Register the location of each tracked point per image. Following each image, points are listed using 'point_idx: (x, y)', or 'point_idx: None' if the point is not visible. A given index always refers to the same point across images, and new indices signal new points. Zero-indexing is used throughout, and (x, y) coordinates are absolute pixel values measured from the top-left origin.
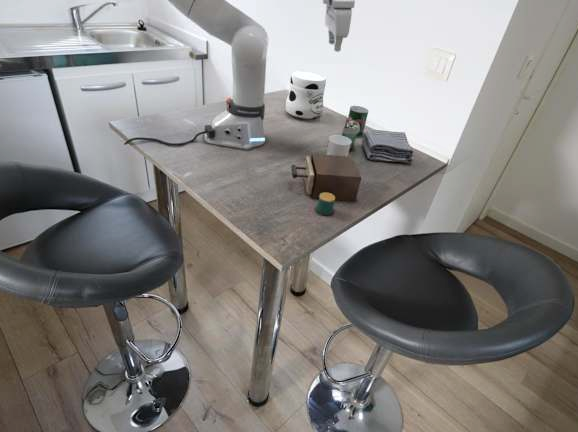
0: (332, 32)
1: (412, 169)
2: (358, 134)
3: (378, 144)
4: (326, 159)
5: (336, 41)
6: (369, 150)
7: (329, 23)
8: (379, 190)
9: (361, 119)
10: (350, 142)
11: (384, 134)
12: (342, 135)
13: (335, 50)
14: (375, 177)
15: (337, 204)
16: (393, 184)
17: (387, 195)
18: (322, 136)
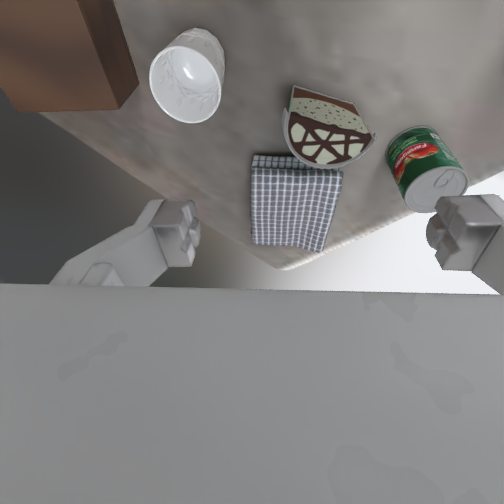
0: (117, 293)
1: (237, 224)
2: (387, 160)
3: (251, 190)
4: (48, 17)
5: (90, 256)
6: (268, 166)
7: (445, 388)
8: (126, 148)
9: (399, 183)
10: (186, 119)
11: (313, 215)
12: (289, 106)
13: (151, 204)
14: (178, 152)
15: None
16: (164, 179)
17: (115, 158)
18: (402, 40)
